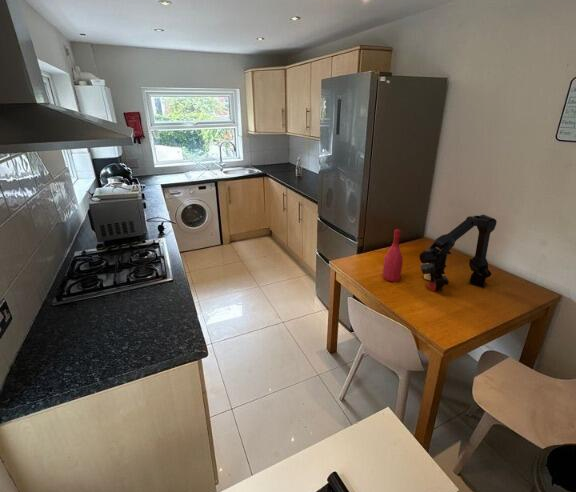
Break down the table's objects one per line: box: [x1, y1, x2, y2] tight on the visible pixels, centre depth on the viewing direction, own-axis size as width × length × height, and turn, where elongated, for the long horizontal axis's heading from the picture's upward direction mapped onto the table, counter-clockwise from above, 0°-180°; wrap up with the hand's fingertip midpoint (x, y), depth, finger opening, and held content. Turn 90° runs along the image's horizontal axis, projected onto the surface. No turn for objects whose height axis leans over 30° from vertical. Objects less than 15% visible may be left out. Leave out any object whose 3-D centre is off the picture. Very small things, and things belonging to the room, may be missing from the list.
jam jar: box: [423, 263, 431, 281], centre depth 171 cm, size 6×6×9 cm
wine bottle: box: [382, 228, 404, 283], centre depth 167 cm, size 10×10×30 cm
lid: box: [427, 281, 442, 292], centre depth 162 cm, size 7×7×2 cm
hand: (434, 287), depth 162 cm, fingers open, 9 cm apart
